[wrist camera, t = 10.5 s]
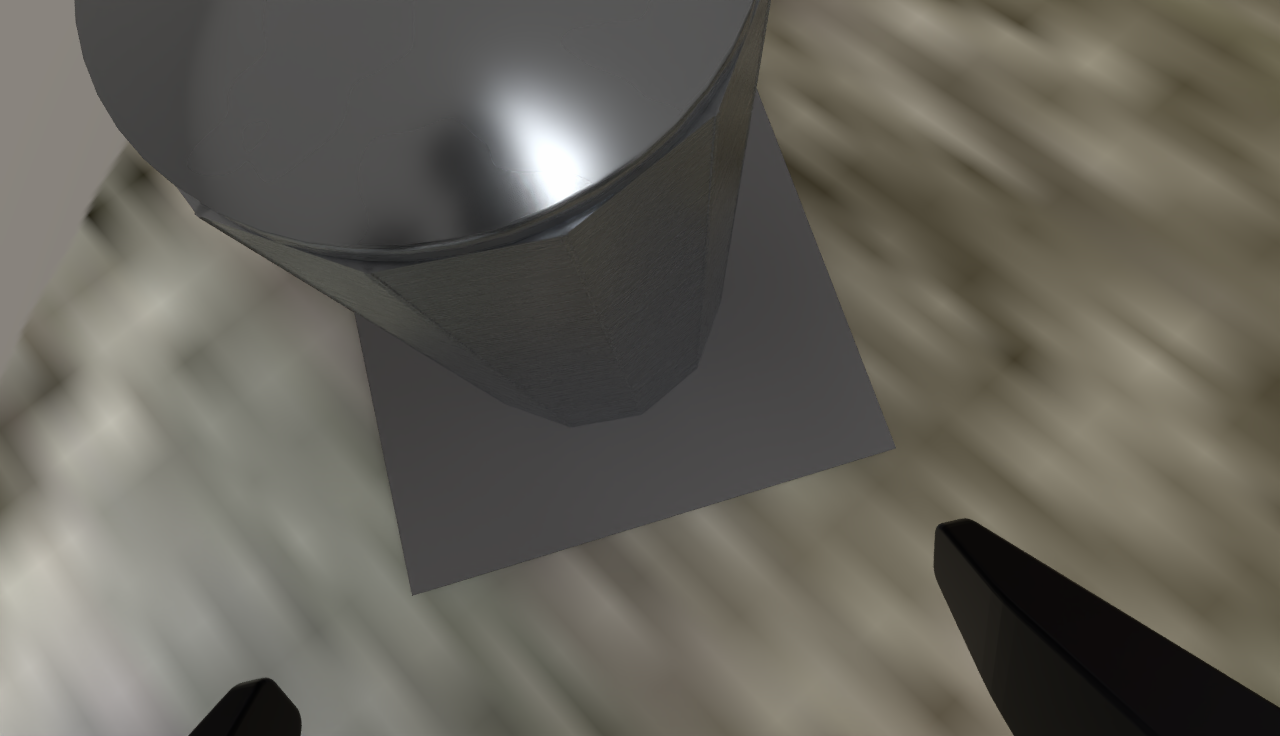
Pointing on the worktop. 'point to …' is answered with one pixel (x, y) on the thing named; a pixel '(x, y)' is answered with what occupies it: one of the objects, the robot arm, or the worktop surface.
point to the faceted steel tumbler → (463, 168)
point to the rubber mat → (640, 445)
